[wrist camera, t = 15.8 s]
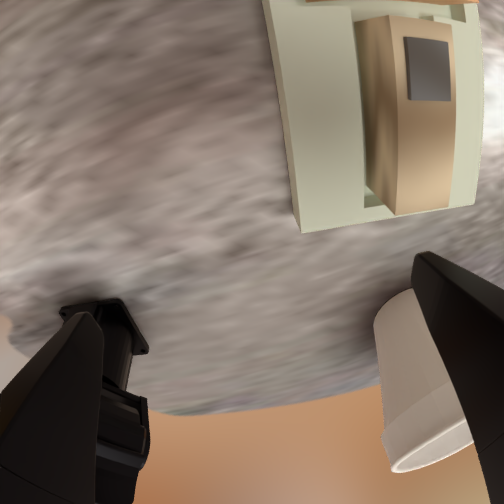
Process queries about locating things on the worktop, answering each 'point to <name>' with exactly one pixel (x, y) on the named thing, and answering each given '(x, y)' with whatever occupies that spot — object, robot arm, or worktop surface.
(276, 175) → the worktop surface
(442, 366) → the cup
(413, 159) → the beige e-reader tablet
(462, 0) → the orange rectangular block
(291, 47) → the jig
